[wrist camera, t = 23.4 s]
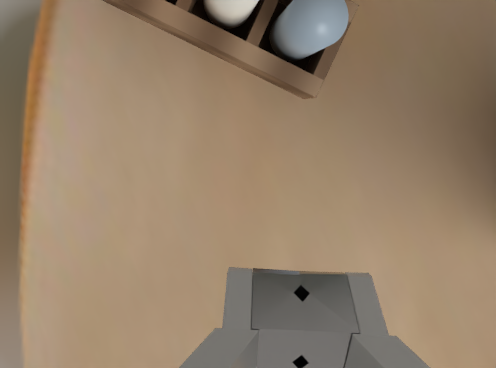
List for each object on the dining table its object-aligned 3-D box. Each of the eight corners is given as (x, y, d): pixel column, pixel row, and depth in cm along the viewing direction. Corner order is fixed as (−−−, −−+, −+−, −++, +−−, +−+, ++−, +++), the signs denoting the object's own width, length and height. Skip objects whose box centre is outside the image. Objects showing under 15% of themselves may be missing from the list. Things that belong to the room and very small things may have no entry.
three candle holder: (102, 0, 37) (91, -14, 34) (140, -93, 37) (134, -118, 33) (304, 98, 41) (316, 97, 37) (342, 15, 40) (359, 5, 36)
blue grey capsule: (304, 3, 38) (334, -26, 30) (323, 48, 39) (357, 32, 31) (261, 23, 38) (280, 0, 30) (281, 68, 38) (304, 57, 30)
